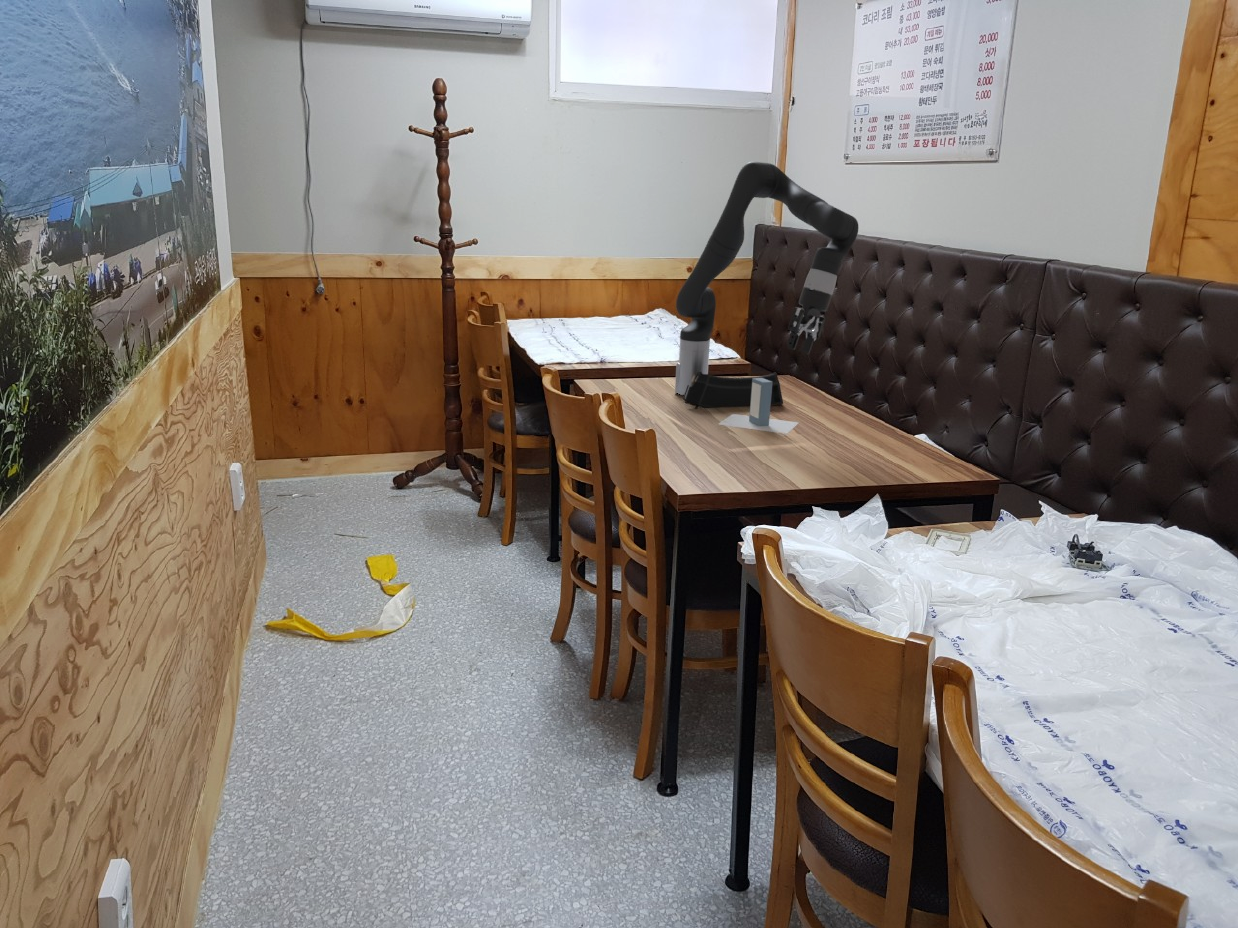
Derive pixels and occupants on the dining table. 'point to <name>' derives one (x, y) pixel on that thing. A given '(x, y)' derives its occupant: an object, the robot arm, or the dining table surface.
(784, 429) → the mat
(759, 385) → the placard
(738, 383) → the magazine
